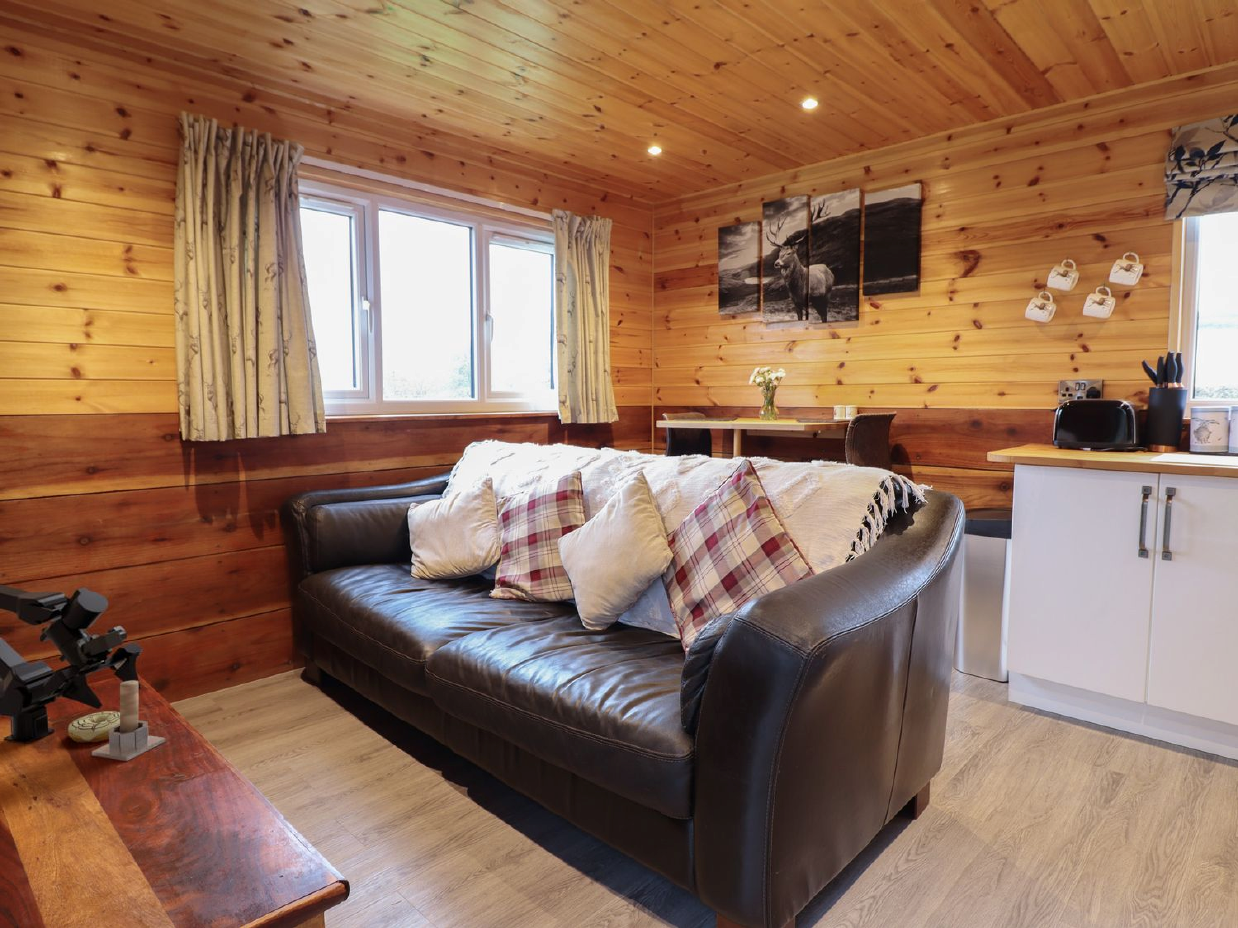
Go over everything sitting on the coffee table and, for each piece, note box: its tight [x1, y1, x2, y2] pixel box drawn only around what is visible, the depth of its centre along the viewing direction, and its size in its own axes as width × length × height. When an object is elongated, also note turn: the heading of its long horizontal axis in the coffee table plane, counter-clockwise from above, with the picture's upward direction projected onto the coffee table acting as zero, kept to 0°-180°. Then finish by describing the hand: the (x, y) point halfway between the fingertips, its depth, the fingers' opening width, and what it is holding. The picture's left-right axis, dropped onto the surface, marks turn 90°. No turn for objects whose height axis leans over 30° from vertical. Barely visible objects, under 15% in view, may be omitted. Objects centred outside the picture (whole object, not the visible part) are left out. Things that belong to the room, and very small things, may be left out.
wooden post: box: [119, 680, 139, 733], centre depth 152 cm, size 3×3×13 cm
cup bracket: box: [91, 719, 166, 762], centre depth 152 cm, size 9×9×4 cm
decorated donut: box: [67, 710, 120, 743], centre depth 159 cm, size 10×11×4 cm
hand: (120, 698), depth 152 cm, fingers open, 9 cm apart
